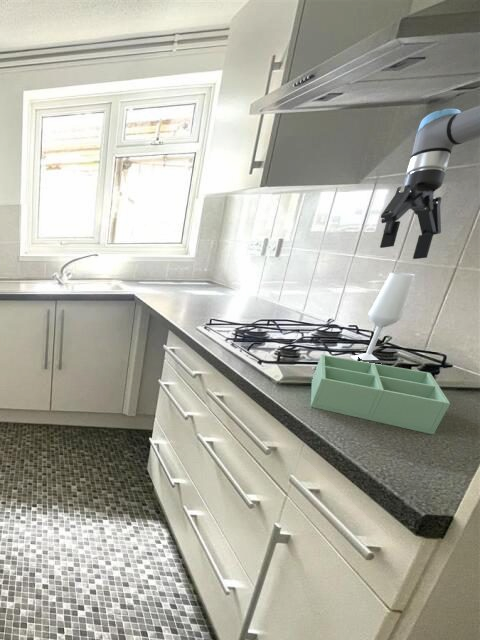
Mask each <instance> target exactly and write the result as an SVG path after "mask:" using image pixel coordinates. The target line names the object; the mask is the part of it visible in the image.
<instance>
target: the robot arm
mask: <svg viewBox="0 0 480 640" xmlns="http://www.w3.org/2000/svg"><path fill="white" fill-rule="evenodd" d="M476 139H480V104H479V105H476V106H473V107H472V108H469V109H466V110H464V111H461V110H459V108H458V109H457V108H444V109H442V110H436V111H433V112H431V113H428V114H427V115H426V116H424V117H423V118H422V120H421V121H420V123H419V127H418V130H417V131H416V133H415V139H414V142H413V148H412V153H411V156H410V159H409V163H408V167H407V170H406V174H405V175H406V176H405V177H404V180H403V183H402V185H401V186H398V187H397V188H396V191H395V193H394V196H393V197H392V199H391V200H390V201H389V203H388V204H387V206H386V207H385V209H384V211H382V213H381V214H380V218H381V221H380V222H381V223H382V224H385V225H384V229H383V235H382V238H381V242H380V245H379V248H381V249H383V248H391V247H394V246H395V243H396V241H397V240H396V239H397V236H398V231H399V228H400V224H401V221H399V219H401V218H402V217H403V216H404V215H405V214H406V213H407V212H409V210H411V211H413V212H414V214H415V215H417V218H418V223H419V227H420V228H419V229H420V233H421V234H419V235H418V238H417V241H416V245H415V248H414V253H413V256H412V259H413V260H420V259H427V258H428V255H429V252H430V248H431V246H432V245H431V244H432V241H433V237H434V236H435V235H439V234H441V233H442V223H441V222H442V221H441V219H442V217H441V204H442V198H443V197H441V196H436V197H434V192H436V191H437V190H438V189H440V188H441V187H442V186H443V183H444V179H445V175H446V171H447V169H448V165H449V162H450V161H449V160H450V156H451V154H452V150H453V148H454V146H458V145H461V144H464V143H467V142H471V141H473V140H476Z"/></svg>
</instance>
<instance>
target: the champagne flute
mask: <svg viewBox="0 0 480 640" xmlns="http://www.w3.org/2000/svg"><path fill="white" fill-rule="evenodd" d="M415 277H416V274H414V273H408V272H395V271H394V272H389V274H388V276H387V278H386V279H385V282H384V284H383V286H382V287H381V288H380V291H379V293H378V295H377V297H376V299H375V300H374V302H373V304H372V305H371V308H370V310H369V311H368V317H369V319H370V321H371V322H372V323H373V325H374V326H376V328H375V331H374V333H373V335H372V338H371V340H370V343H369V345H368V347H367V349H366V352H364V353H360V354H356V355H351V356H350V358H351V360H357V359H358V357H359V358H360V359H362V360H379V359H378V357H376V356H375V355H373V351H374V350H375V347H376V344H377V342H378V340H379V337H380V335H381V333H382V330H383V328H386V327H389V326H390V325H391V326H392V325H394V324H396V323H397V322H399V321H401V320H402V318H403V316H404V313H405V310H406V307H407V303H408V300H409V297H410V294H411V290H412V287H413V284H414V282H415V281H414V280H415Z"/></svg>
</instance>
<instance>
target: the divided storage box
mask: <svg viewBox="0 0 480 640" xmlns="http://www.w3.org/2000/svg"><path fill="white" fill-rule="evenodd" d="M312 378H313V379H312ZM312 378H311V388H310V389H311V391H310V408H313V409H318V410H322V411H327V412H332V413H336V414H341V415H345V416H349V417H354V418H357V419H362V420H367V421H371V422H375V423H381V424H384V425H389V426H394V427H398V428H402V429H407V430H409V431H410V430H411V431H416V432H420V433H424V434H428V435H432V436H434V435H435V433H436V431H437V429H438V427H439V425H440V423H441V422H442V420H443V418H444V416H445V414H446V413H447V410H448V409H449V407H450V405H451V402H450V401H449V399H448V398H447V396H446V395H445V393H444V392H443V390H442V388H441V387H440V386H439V384H438V382H437V380H436V379H435V377H434V376H433V374H432V373H431V372H428V371H422V370H416V369H409V368H403V367H397V366H393V365H386V364H382V363H381V364H375V363H369V362H363V361H357V360H354V359H352V358H351V359H350V358H345V357H338V356H332V355H327V354H320V357H319V359H318V362H317V365H316V367H315V370H314V373H313V375H312Z"/></svg>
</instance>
